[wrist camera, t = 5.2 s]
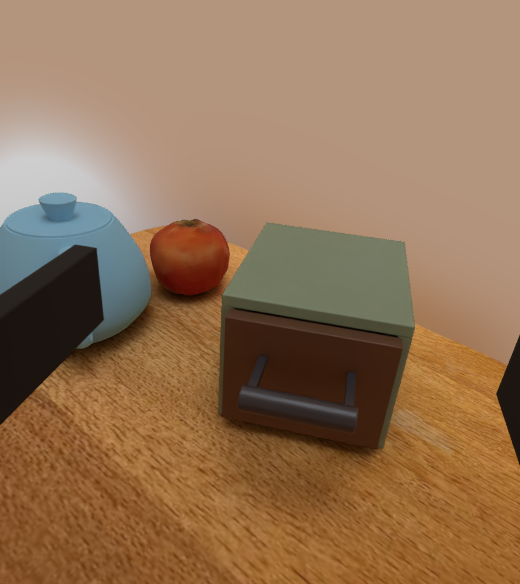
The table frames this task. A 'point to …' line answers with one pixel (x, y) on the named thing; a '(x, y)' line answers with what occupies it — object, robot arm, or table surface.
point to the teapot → (87, 232)
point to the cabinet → (326, 286)
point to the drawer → (308, 376)
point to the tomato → (189, 257)
